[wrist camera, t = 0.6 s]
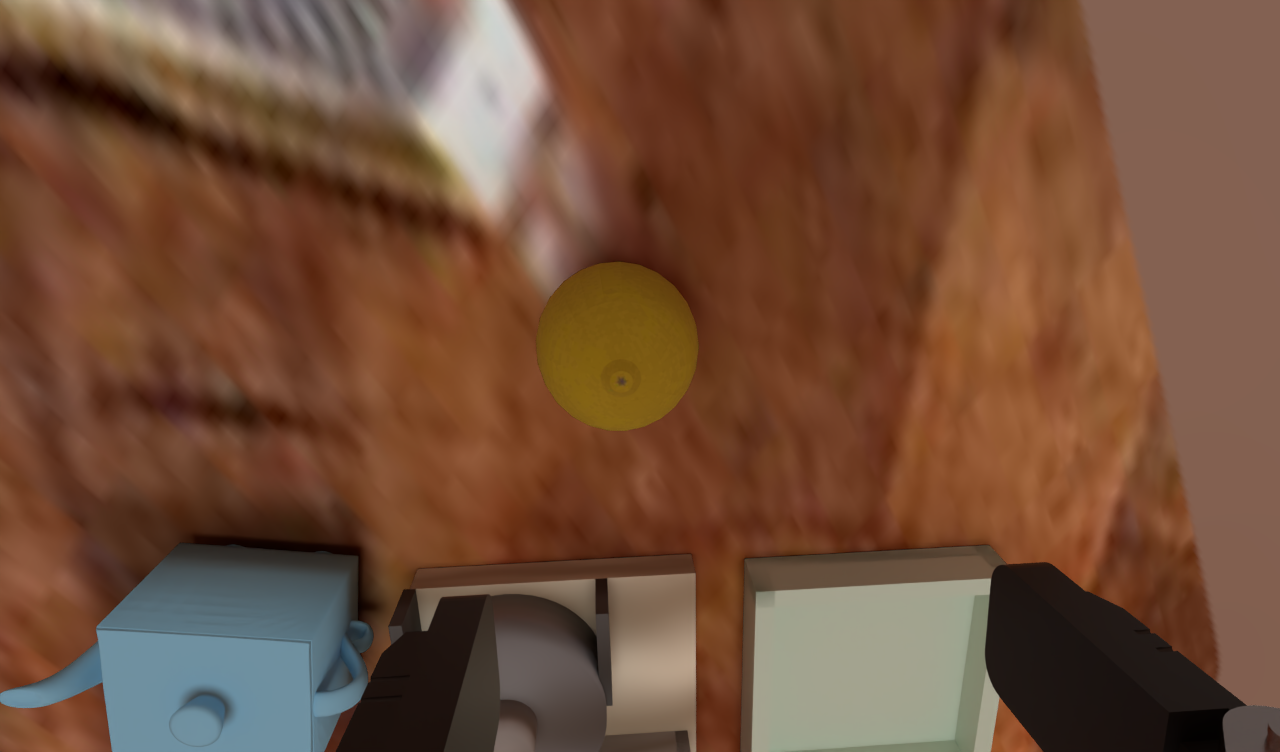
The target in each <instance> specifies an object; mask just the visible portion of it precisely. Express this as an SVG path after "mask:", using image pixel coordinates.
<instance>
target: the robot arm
mask: <svg viewBox="0 0 1280 752" xmlns="http://www.w3.org/2000/svg"><path fill="white" fill-rule="evenodd" d="M985 662H986V668H987V672H988V675H989V678H990V681H991V683H992V686H993V688H994V689H995V691H996V693H997V694H998V695H999V697H1000V698H1001V699H1002V700H1003V702H1004V703H1005V704H1006V705H1007V707H1008V708H1009V709H1010V710H1011V712H1012V713H1013V714H1014V715H1015V717H1016V718H1017V719H1018V720H1019V722H1020V723H1021V724H1022V725H1023V727H1024V728H1025V729H1026V730H1027V732H1028V733H1029V734H1030V735H1031V737H1032V738H1033V739H1034V740H1035V742H1036V743H1037V744H1038V745H1039V747H1040V748H1041V749H1042V750H1043V751H1044V752H1280V709H1279V708H1274V707H1267V706H1255V705H1253V706H1247V705H1245V704H1244V703H1243V702H1242V701H1240V700H1239V699H1238V698H1237V697H1235V696H1234V695H1233V694H1232V693H1230V692H1229V691H1228V690H1226V689H1225V688H1224V687H1223V686H1221V685H1220V684H1219V683H1217V682H1216V681H1215V680H1214V679H1212V678H1211V677H1210V676H1209V675H1207V674H1206V673H1205V672H1203V671H1202V670H1201V669H1200V668H1198V667H1197V666H1196V665H1195V664H1193V663H1192V662H1191V661H1189V660H1188V659H1187V658H1186V657H1184V656H1183V655H1182V654H1181V653H1179V652H1178V651H1173V650H1172V646H1170V645H1169V644H1168V643H1167V642H1165V641H1164V640H1163V639H1161V638H1160V637H1159V636H1158V635H1156V634H1155V633H1154V634H1151V633H1150V629H1149V628H1147V627H1146V626H1145V625H1144V624H1142V623H1141V622H1140V621H1139V620H1137V619H1136V618H1135V617H1133V616H1132V615H1131V614H1130V613H1128V612H1127V611H1126V610H1125V609H1123V608H1121V607H1119V606H1117V605H1115V604H1113V603H1111V602H1109V601H1107V600H1104V599H1102V598H1100V597H1098V596H1096V595H1094V594H1092V593H1090V592H1088V591H1087V592H1086V591H1084V590H1083V589H1082V588H1081V587H1079V586H1078V585H1077V584H1076V583H1074V582H1073V581H1072V580H1071V579H1069V578H1068V577H1067V576H1066V575H1065V574H1063V573H1062V572H1061V571H1060V570H1058V569H1057V568H1056V567H1055V566H1053V565H1052V564H1050V563H1047V562H1040V563H1023V564H1006V565H999V566H997V567H996V568H995V569H994V571H993V573H992V577H991V585H990V596H989V608H988V619H987V631H986V642H985ZM499 715H500V678H499V667H498V656H497V645H496V634H495V623H494V612H493V604H492V599H491V596H490V595H489V594H483V595H466V596H449V597H442V598H441V599H440V601H439V603H438V606H437V608H436V611H435V613H434V616H433V618H432V621H431V623H430V626H429V629H428V631H416V632H405V633H404V634H403V635H402V636H401V637H400V638H399V639H397V640H396V641H395V642H394V643H393V644H392V645H391V646H390V647H389V648H388V649H386V650H385V651H384V652H383V653H382V655H381V657H380V659H379V661H378V663H377V665H376V667H375V669H374V672H373V674H372V676H371V681H370V683H368V684H367V686H366V689H365V691H364V693H363V695H362V697H361V703H358V706H357V708H356V710H355V712H354V714H353V716H352V718H351V720H350V723H349V725H348V727H347V729H346V731H345V733H344V735H343V737H342V740H341V742H340V744H339V746H338V748H337V750H336V752H494V746H495V741H496V736H497V730H498V725H499Z"/></svg>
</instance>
